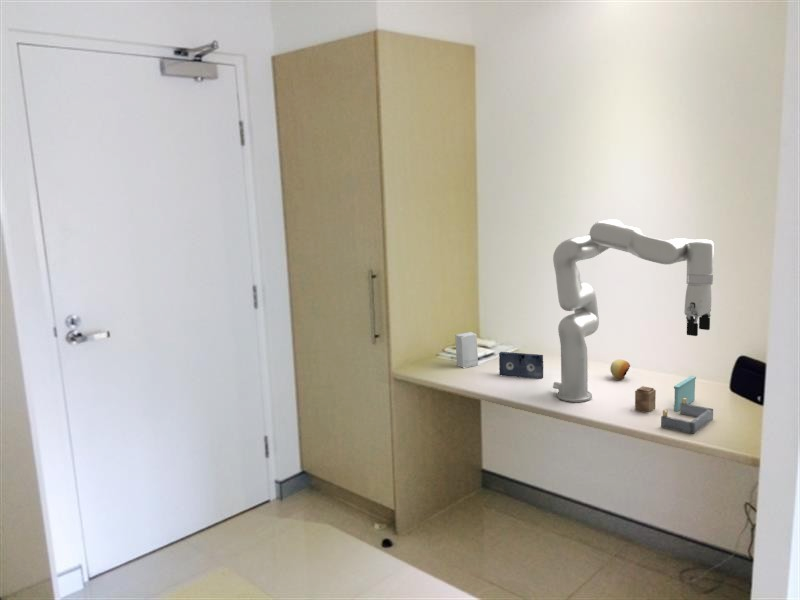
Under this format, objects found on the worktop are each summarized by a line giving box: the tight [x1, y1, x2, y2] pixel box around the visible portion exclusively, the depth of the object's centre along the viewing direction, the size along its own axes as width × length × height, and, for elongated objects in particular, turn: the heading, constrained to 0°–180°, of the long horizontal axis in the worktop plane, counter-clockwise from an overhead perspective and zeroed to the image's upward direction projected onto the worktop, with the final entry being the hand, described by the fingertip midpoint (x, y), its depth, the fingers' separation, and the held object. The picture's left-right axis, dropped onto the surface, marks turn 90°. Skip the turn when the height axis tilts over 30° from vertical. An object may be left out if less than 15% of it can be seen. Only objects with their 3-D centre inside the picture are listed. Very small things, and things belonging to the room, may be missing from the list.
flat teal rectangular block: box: [673, 375, 697, 412], centre depth 226 cm, size 2×15×9 cm, turn 135°
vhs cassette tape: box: [498, 351, 544, 380], centre depth 269 cm, size 18×3×10 cm, turn 63°
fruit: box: [609, 359, 631, 380], centre depth 259 cm, size 8×8×8 cm
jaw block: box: [634, 385, 657, 414], centre depth 224 cm, size 5×5×8 cm
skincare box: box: [454, 331, 479, 368], centre depth 289 cm, size 8×6×15 cm
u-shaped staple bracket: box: [660, 398, 714, 435], centre depth 210 cm, size 10×17×6 cm, turn 134°
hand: (698, 332), depth 205 cm, fingers open, 9 cm apart
